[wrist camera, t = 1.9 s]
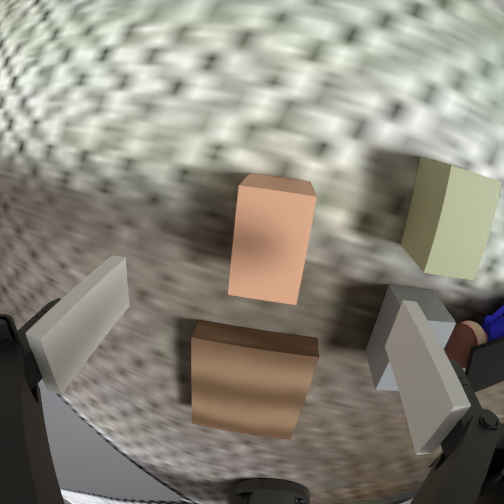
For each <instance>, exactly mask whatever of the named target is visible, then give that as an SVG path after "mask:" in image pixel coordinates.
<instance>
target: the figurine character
mask: <svg viewBox="0 0 504 504" xmlns="http://www.w3.org/2000/svg"><path fill="white" fill-rule="evenodd" d="M502 314H504V305H503V306H502V307H501V308H500V309H499V310H497V311H496V312H495V313H494V314H493V315H491V316H490V315H488V316H486V317H485V319H484V323H483V324H481V325H479V324H477V323H476V322H473V321H462V322H459V323H457V324H456V325H455V327H454V329H453V331H452V333H451V335H450V337H449V339H448V341H447V344H446V346H445V348H444V350H445V353H446V355H447V357H448V359H449V360H455V361H456V362H457V363H458V364H459V365H460V366H461V367H462V368H466V370H465V375H466V378H467V379H468V381H469V383H470V385H471V387H472V389H473V391H474V392H477V391H480V390H482V389H485V388H487V387H490V386H492V385H495V384H497V383H500V382H502V381H504V315H503V316H501V315H502ZM500 316H501V317H500Z"/></svg>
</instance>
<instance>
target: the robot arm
mask: <svg viewBox="0 0 504 504" xmlns="http://www.w3.org/2000/svg"><path fill="white" fill-rule="evenodd" d="M128 308H129V296H128V285H127V271H126V258H124V257H119V256H113V255H112V256H111V257H110V258H108V259H107V260H106V261H105V262H104V263H102V264H101V265H100V266H99V267H98V268H96V269H95V270H94V271H93V272H92V273H91V274H89V275H88V276H87V277H86V278H85V279H84V280H83V281H81V282H80V283H79V284H78V285H77V286H76V287H75V288H73V289H72V290H71V291H70V292H69V293H68V294H67V295H66V296H64V297H63V298H62V299H59V298H58V299H56V300H54V301H52V302H50V303H48V304H47V305H46V306H44V307H43V308H42V309H41V311H39V312H38V313H37V314H36V315H35V317H34V316H33V317H32V318H31V319H30V320H29V321H28V322H27V323H26V324H25V325H24V326H23V327H22V328H21V329H20V330H19V331H17V330H16V327H15V324H14V321H13V318H12V317H11V316H10V315H6V314H0V504H64V501H63V497H62V494H61V491H60V487H59V484H58V480H57V477H56V473H55V470H54V465H53V462H52V457H51V452H50V448H49V443H48V438H47V433H46V428H45V421H44V416H43V409H42V402H41V394H40V389H39V386H38V383H39V382H40V380H41V379H43V381H44V383H45V386H46V388H47V389H49V390H51V391H53V392H55V393H57V394H60V395H62V394H63V393H64V391H65V390H66V388H67V387H68V386H69V384H70V383H71V382H72V380H73V379H74V377H75V376H76V375H77V373H78V372H79V371H80V369H81V368H82V367H83V365H84V364H85V363H86V361H87V360H88V359H89V357H90V356H91V355H92V353H93V352H94V351H95V350H96V348H97V347H98V346H99V344H100V343H101V342H102V340H103V339H104V338H105V337H106V335H107V334H108V333H109V331H110V330H111V329H112V328H113V326H114V325H115V324H116V323H117V321H118V320H119V319H120V318H121V316H122V315H123V314H124V313H125V311H126V310H127V309H128ZM385 349H386V352H387V355H388V358H389V361H390V364H391V367H392V370H393V374H394V377H395V380H396V383H397V387H398V390H399V393H400V397H401V400H402V404H403V407H404V411H405V414H406V418H407V422H408V425H409V429H410V433H411V437H412V441H413V445H414V449H415V453H416V455H419V454H429V453H433V452H434V451H435V450H436V449H437V448H438V446H439V445H440V444H441V446H442V450H443V452H442V453H441V454H440V455H439V456H438V457H437V458H436V459H435V461H434V462H433V463H432V464H431V465H430V466H429V467H430V468H431V467H432V466H433V465H434V466H433V467H432V469H431V471H430V473H429V474H428V476H427V478H426V480H425V481H424V483H423V485H422V486H421V488H420V489H419V491H418V493H417V494H416V496H415V497H414V499H413V500H412V502H411V504H504V424H502V423H500V421H499V419H498V417H497V416H496V415H495V414H494V413H493V412H491V411H489V410H486V409H482V407H481V405H480V403H479V401H478V399H477V397H476V395H475V393H474V391H473V389H472V387H471V385H470V383H469V381H468V379H467V378H466V375H465V373H464V371H463V369H462V367H461V366H460V365H459V364H458V363H457V362H456V361H455V360H449V359H448V357H447V355H446V353H445V351H444V350H443V348H442V346H441V344H440V342H439V340H438V338H437V337H436V335H435V333H434V331H433V329H432V327H431V326H430V324H429V322H428V320H427V319H426V317H425V315H424V313H423V312H422V310H421V308H420V307H419V305H418V303H417V302H414V301H406V300H403V301H402V304H401V307H400V309H399V312H398V315H397V317H396V320H395V322H394V325H393V327H392V330H391V332H390V335H389V337H388V340H387V342H386V344H385ZM227 504H310V492H309V490H308V489H307V488H305V487H304V486H302V485H299V484H297V483H293V482H289V481H284V480H276V479H249V480H243V481H239V482H236V483H234V484H232V485H231V486H230V487H229V489H228V494H227Z"/></svg>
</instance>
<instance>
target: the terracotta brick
mask: <svg viewBox="0 0 504 504" xmlns="http://www.w3.org/2000/svg"><path fill="white" fill-rule="evenodd" d="M315 203H316V194H315V191H314V189H313V186H312V184H311V182H308V181H302V180H295V179H289V178H282V177H275V176H268V175H260V174H252V173H250V174H249V175H248V176H247V177H246V178H245V179H244V180H243V181H242V182H241V184H240V185H239V188H238V197H237V207H236V217H235V227H234V237H233V247H232V257H231V268H230V279H229V290H228V295H234V296H240V297H247V298H253V299H259V300H266V301H273V302H279V303H286V304H293V305H296V303H297V298H298V293H299V288H300V283H301V278H302V273H303V268H304V263H305V258H306V253H307V247H308V242H309V237H310V231H311V226H312V220H313V214H314V209H315Z"/></svg>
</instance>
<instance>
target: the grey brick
mask: <svg viewBox="0 0 504 504" xmlns="http://www.w3.org/2000/svg"><path fill="white" fill-rule="evenodd" d="M403 300H406V301H414V302H417V303H418V305H419V307H420V308H421V310H422V312H423V313H424V315H425V317H426V319H427V320H428V322H429V324H430V326H431V327H432V329H433V331H434V333H435V335H436V337H437V338H438V340H439V342H440V344H441V346H442V348H443V350H444V348H445V346H446V344H447V341H448V339H449V337H450V335H451V333H452V331H453V329H454V327H455V325H456V322H455V320H454V319H453V318H452V316H451V315H450V313H449V312H448V310H447V309H446V308H445V306H444V305H443V303H442V302H441V301H440V299H439V298H438V297H437V295H436V294H435V292H434V291H433V290H429V289H422V288H414V287H407V286H400V285H393V284H389V285H388V288H387V291H386V295H385V298H384V301H383V304H382V306H381V309H380V312H379V315H378V318H377V321H376V324H375V326H374V329H373V332H372V334H371V337H370V340H369V342H368V345H367V347H366V350H365V351H366V355H367V359H368V363H369V367H370V371H371V374H372V378H373V383H374V387H375V390H392V391H399V390H398V387H397V383H396V380H395V377H394V374H393V370H392V367H391V364H390V361H389V358H388V355H387V352H386V349H385V344H386V342H387V340H388V337H389V335H390V332H391V330H392V327H393V325H394V322H395V320H396V317H397V315H398V312H399V309H400V307H401V304H402V301H403Z"/></svg>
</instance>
